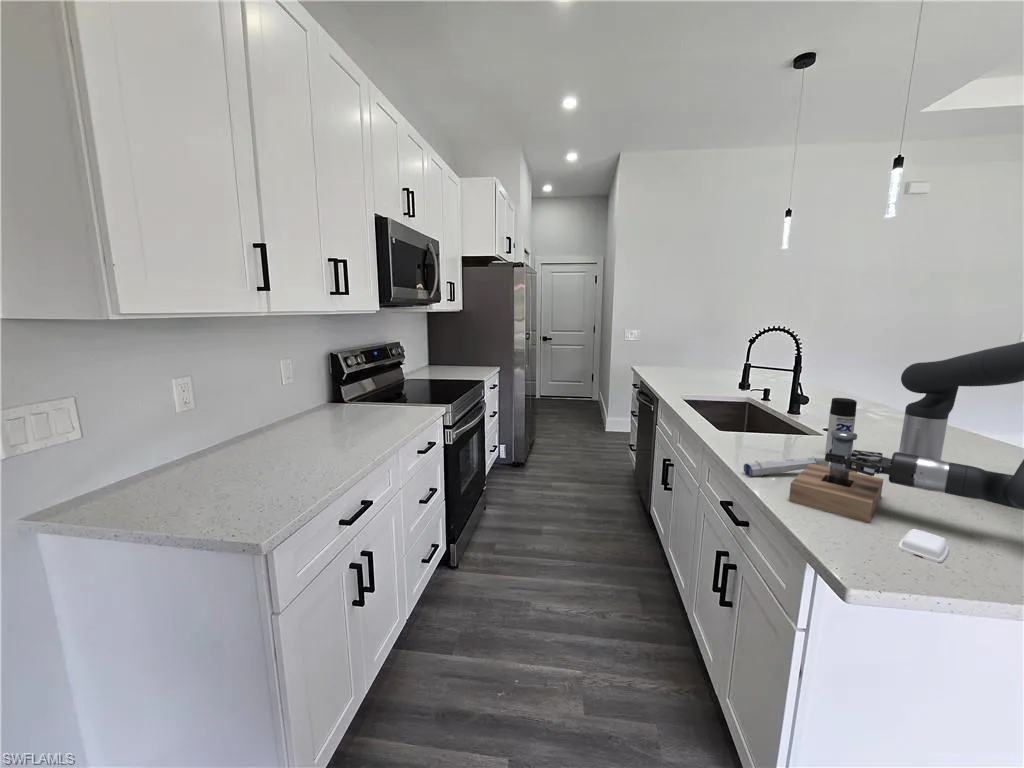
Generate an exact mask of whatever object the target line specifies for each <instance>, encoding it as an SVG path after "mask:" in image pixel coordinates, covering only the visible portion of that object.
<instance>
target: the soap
mask: <svg viewBox="0 0 1024 768" xmlns="http://www.w3.org/2000/svg"><path fill="white" fill-rule="evenodd" d="M897 549H898V550H900V551H901V552H903V553H907V554H909V555H911V556H914V555H917V556H920V557H922V559H924V558H925V559H924V560H927V559H928V560H927V561H930V560H931V561H930V562H933V561H935V562H934V563H937V562H940V563H939V564H941V562H942V561H943V560H944V559H945V560H946V558H947V557H946V556H948V554H949V546H948V545H947V539H946V538H944V537H943V536H939V535H937V534H933V533H929V532H927V531H924V530H919V529H916V528H912V529H910V530H909V531H908V532H906V534H905V535H904V536H903V537H902V538H901V539H900V540H899V544H898V546H897ZM945 560H944V561H945ZM944 561H943V562H944Z"/></svg>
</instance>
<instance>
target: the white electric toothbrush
mask: <svg viewBox="0 0 1024 768" xmlns="http://www.w3.org/2000/svg"><path fill="white" fill-rule="evenodd" d="M810 463H812V464H816V465H821V466H826V467H830V462H827V461H825V454H814V455H812V456H811V457H805V458H804V457H802V458H791V459H775V460H765V461H758V460H755V461H753V462H746V463H744V464H743V466H742V467H743V472H744V474H745V475H746V476H748V477H758V476H759V477H762V476H765V475H773V474H780V473H786V472H792V471H793V472H794V471H800V470H801V471H802V470H804V469H805V468H806V467H807V466H808V465H809V464H810Z"/></svg>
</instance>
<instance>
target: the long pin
mask: <svg viewBox="0 0 1024 768" xmlns="http://www.w3.org/2000/svg"><path fill="white" fill-rule="evenodd" d="M831 436H832V437H833V446H832V453H833V454H838V455H843V456H850V457H851V455H852V451H853V446H854V441H856V440H857V439H858V434H857V433H855V432H848V431H841V430H834V431H831ZM829 464H830V471H829V479H828V482H829V483H833V484H837V485H841V486H846V487H847V486H848V479H849V471H850V470H849V469H846V468H845V466H843V465H842V464H837V463H832V462H829Z"/></svg>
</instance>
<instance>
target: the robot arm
mask: <svg viewBox="0 0 1024 768" xmlns="http://www.w3.org/2000/svg"><path fill="white" fill-rule="evenodd" d="M900 382H901V384H902V386H903V387H904V388H905V390H908V391H909V392H912V393H916V394H925V396H924V397H922V398H920V399H919V400H917V401H914V402H911V403H910V402H909V403H908V404H907V405H906V406H905V411H904V417H903V422H902V423H903V424H902V428H901V429H902V430H901V436H900V443H899V444H900V445H899V449H898V451H895V452H893V454H892V456H891V458H889V457H885V456H883V453H882V452H875V451H867V450H858V449H852V455H851V457H850V456H843V455H838V454H833V453H832V449H830V450H829V453H826V455H825V454H824V455H825V461H827V462H829V463H830V462H832V463H837V464H842V465H843V466H845V468H846V469H849V470H852V471H856V472H857V473H858V474H863V475H868V476H872V477H875V475H879V474H883V475H888V481H889V483H891V484H896V485H899V486H904V487H909V488H913V489H919V490H923V491H927V492H934V493H944V494H947V495H953V496H957V497H963V498H967V499H973V500H974V499H975V500H981V501H984V502H985V501H986V502H988V503H993V504H997V505H1001V506H1004V507H1009V508H1013V509H1016V510H1017V509H1018V510H1021V511H1024V458H1023V459H1022V461H1021V463H1020V464H1019V465H1018V467H1017V469H1016V471H1015V472H1014V474H1009V473H1007V474H1006V473H1002V472H997V471H990V470H985V469H983V468H980V467H976V466H973V465H968V464H967V465H966V464H961V463H957V462H956V463H955V462H949V461H945V460H942V455H943V449H944V443H945V437H946V433H947V425H948V422H949V421H948V420H949V415H950V413H951V412H952V411H953V409H954V407H955V402H956V400H957V399H956V398H957V393H958V391H959V387H991V386H992V387H993V386H1003V385H1011V384H1018V383H1021V382H1024V341H1020V342H1016V343H1011V344H1007V345H1001V346H995V347H990V348H987V349H982V350H979V351H975V352H971V353H965V354H962V355H958V356H954V357H950V358H947V359H943V360H936V361H925V362H922V361H921V362H915V363H912V364H910V365H909V366H907V367H906V368H905V369H904V370H903V372H902V373H901V377H900ZM852 463H855V464H854V465H853V464H852Z"/></svg>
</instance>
